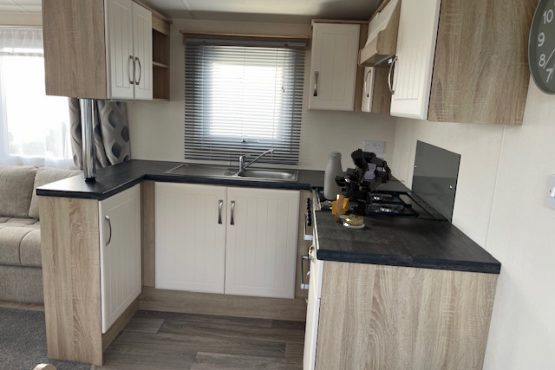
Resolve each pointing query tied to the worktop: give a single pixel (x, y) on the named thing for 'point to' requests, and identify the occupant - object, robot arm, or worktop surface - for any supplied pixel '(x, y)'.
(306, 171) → the worktop surface
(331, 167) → the glass bottle
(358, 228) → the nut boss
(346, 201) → the pipe clamp
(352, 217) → the bronze dome and bar
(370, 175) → the cake pan box
